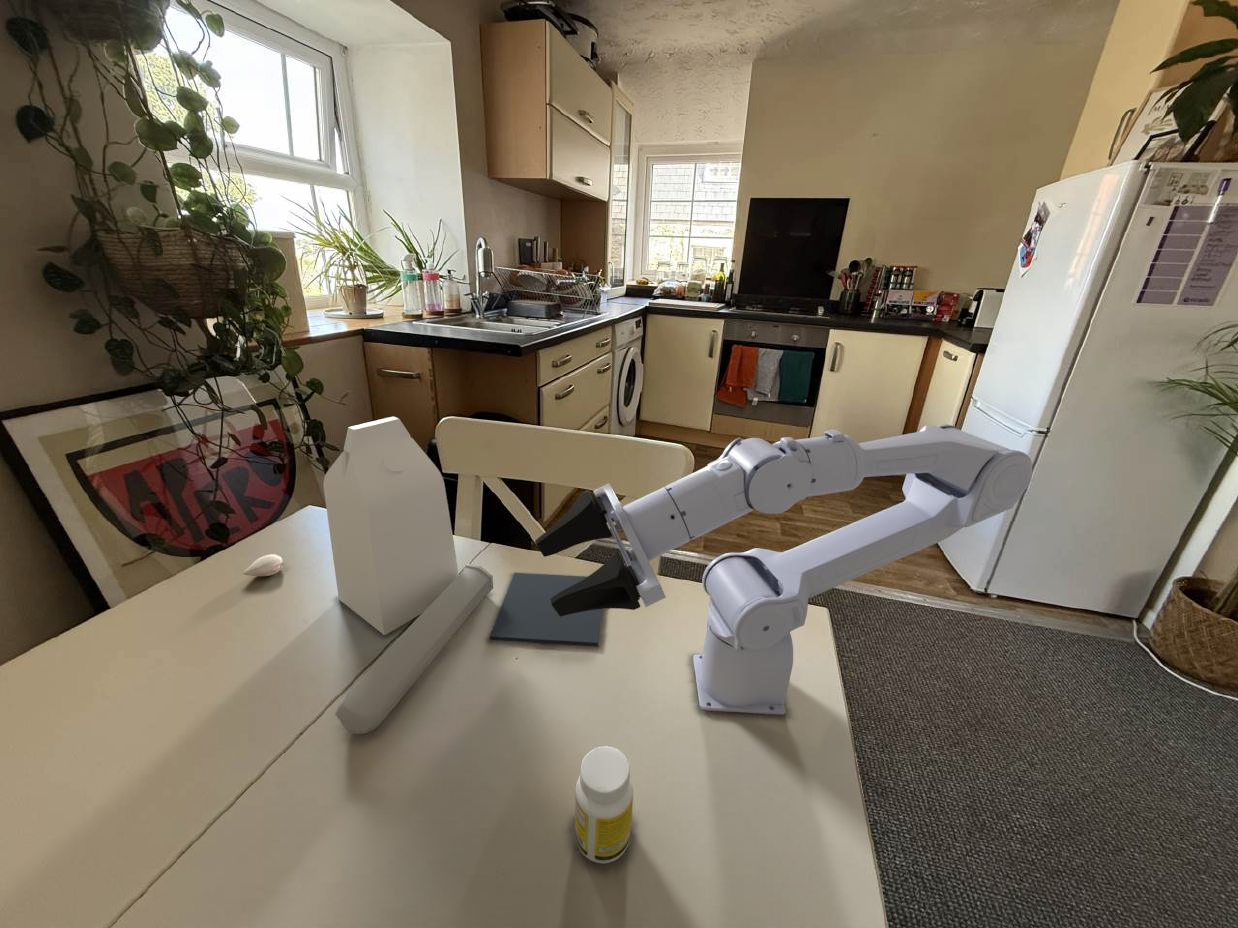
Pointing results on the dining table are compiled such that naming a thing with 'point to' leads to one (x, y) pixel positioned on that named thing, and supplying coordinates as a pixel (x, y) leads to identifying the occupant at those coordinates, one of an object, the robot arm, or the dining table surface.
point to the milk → (388, 525)
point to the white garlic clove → (265, 566)
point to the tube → (412, 652)
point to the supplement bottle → (603, 805)
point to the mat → (543, 613)
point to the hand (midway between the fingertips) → (546, 576)
